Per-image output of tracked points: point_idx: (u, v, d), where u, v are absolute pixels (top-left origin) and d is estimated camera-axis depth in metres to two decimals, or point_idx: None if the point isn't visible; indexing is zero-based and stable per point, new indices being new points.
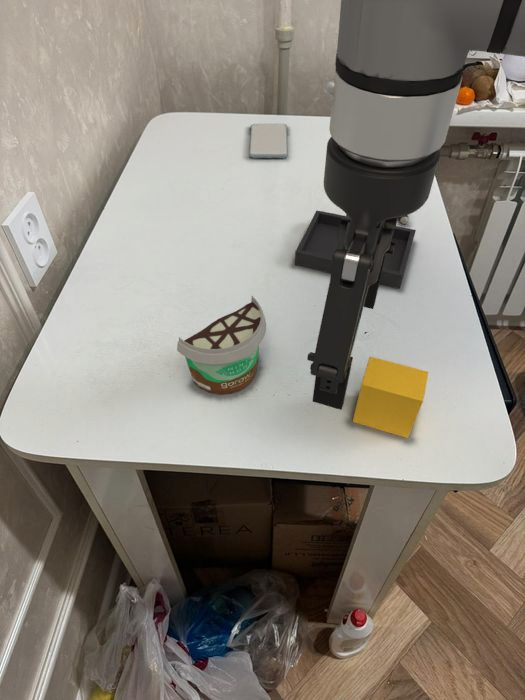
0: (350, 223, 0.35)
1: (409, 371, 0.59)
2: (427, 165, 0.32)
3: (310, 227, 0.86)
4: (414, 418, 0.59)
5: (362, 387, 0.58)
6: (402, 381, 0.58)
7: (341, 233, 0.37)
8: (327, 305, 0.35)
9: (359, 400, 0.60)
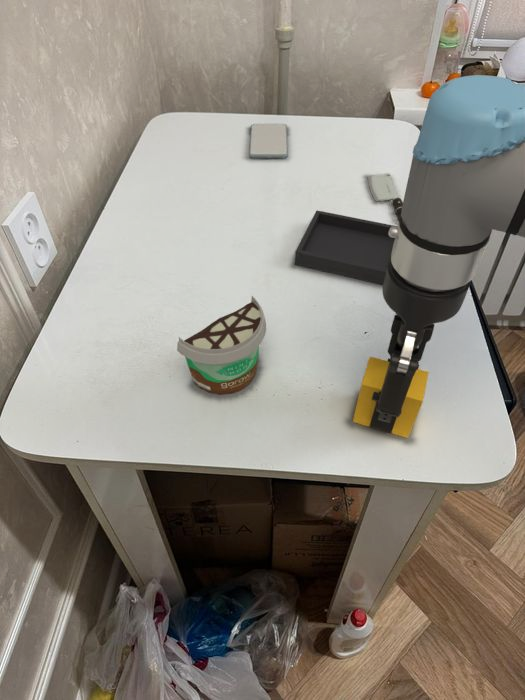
0: (404, 324, 0.47)
1: None
2: (463, 289, 0.44)
3: (310, 227, 0.86)
4: (414, 418, 0.59)
5: (362, 387, 0.58)
6: None
7: (394, 328, 0.50)
8: (386, 382, 0.50)
9: (359, 400, 0.60)
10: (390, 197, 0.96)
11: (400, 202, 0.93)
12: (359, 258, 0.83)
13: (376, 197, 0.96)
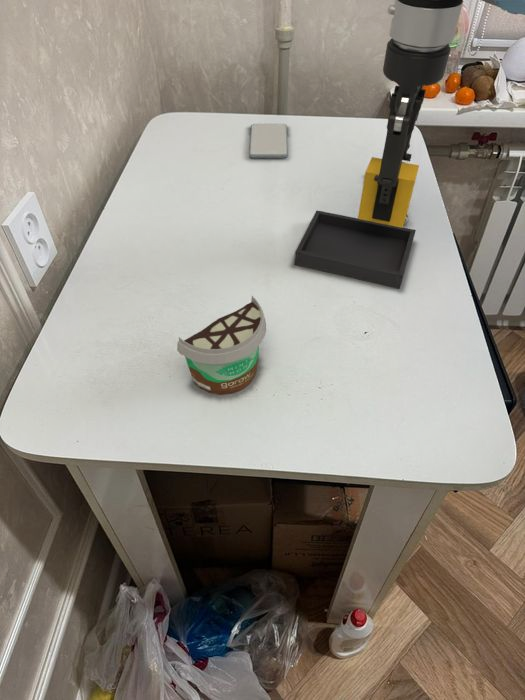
0: (399, 90, 0.61)
1: (403, 165, 0.73)
2: (443, 52, 0.58)
3: (310, 227, 0.86)
4: (407, 202, 0.73)
5: (366, 175, 0.72)
6: None
7: (391, 104, 0.64)
8: (386, 145, 0.64)
9: (363, 191, 0.74)
10: None
11: None
12: (359, 258, 0.83)
13: None
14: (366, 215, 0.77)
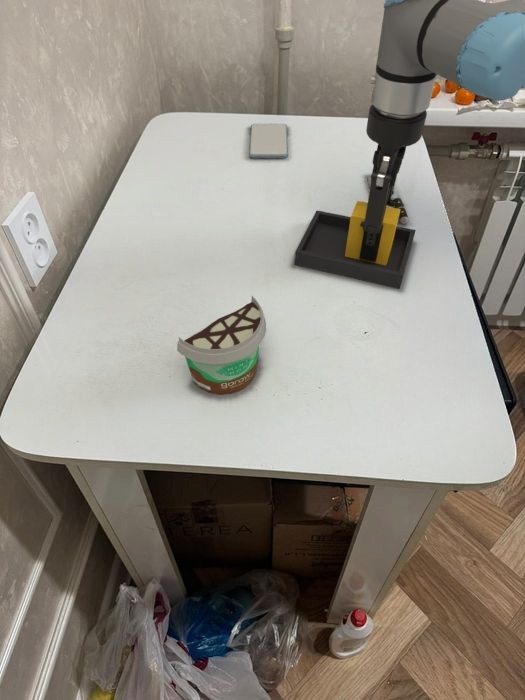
0: (381, 150, 0.67)
1: (386, 208, 0.79)
2: (420, 118, 0.65)
3: (310, 227, 0.86)
4: (390, 243, 0.79)
5: (351, 219, 0.78)
6: None
7: (375, 160, 0.70)
8: (369, 198, 0.70)
9: (349, 232, 0.80)
10: None
11: (400, 202, 0.93)
12: None
13: None
14: (352, 253, 0.83)
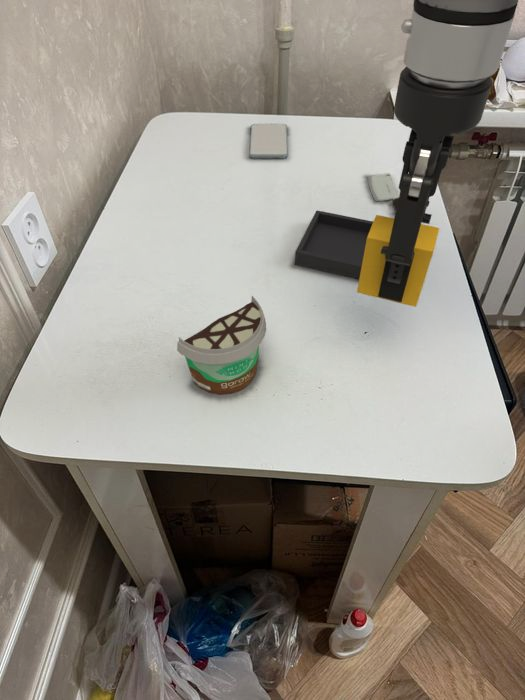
0: (417, 139, 0.43)
1: None
2: (483, 87, 0.40)
3: (310, 227, 0.86)
4: (423, 277, 0.54)
5: (368, 241, 0.54)
6: None
7: (406, 156, 0.46)
8: (397, 214, 0.46)
9: (364, 260, 0.56)
10: (390, 197, 0.96)
11: None
12: (359, 258, 0.83)
13: (376, 197, 0.96)
14: (368, 289, 0.58)
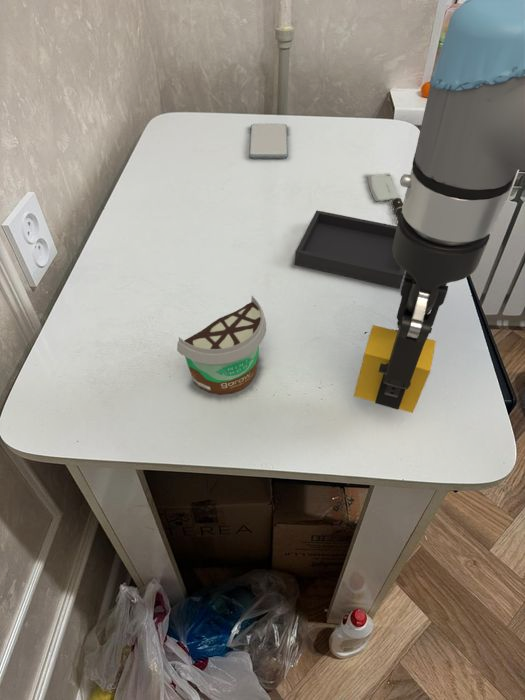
0: (416, 284, 0.43)
1: None
2: (481, 243, 0.40)
3: (310, 227, 0.86)
4: (420, 390, 0.55)
5: (365, 356, 0.54)
6: None
7: (404, 291, 0.46)
8: (395, 349, 0.46)
9: (361, 371, 0.56)
10: (390, 197, 0.96)
11: (400, 202, 0.93)
12: (359, 258, 0.83)
13: (376, 197, 0.96)
14: (365, 394, 0.59)
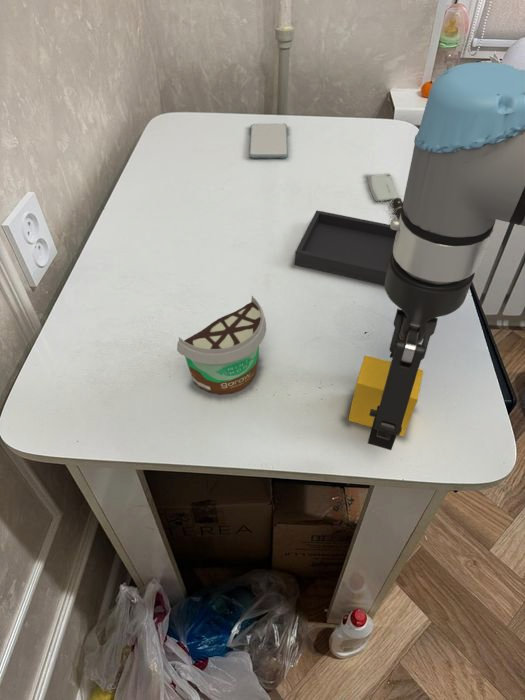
0: (406, 318, 0.46)
1: None
2: (466, 281, 0.43)
3: (310, 227, 0.86)
4: (409, 416, 0.59)
5: (357, 386, 0.58)
6: None
7: (397, 321, 0.49)
8: (389, 379, 0.47)
9: (354, 399, 0.60)
10: (390, 197, 0.96)
11: (400, 202, 0.93)
12: (359, 258, 0.83)
13: (376, 197, 0.96)
14: (358, 419, 0.63)
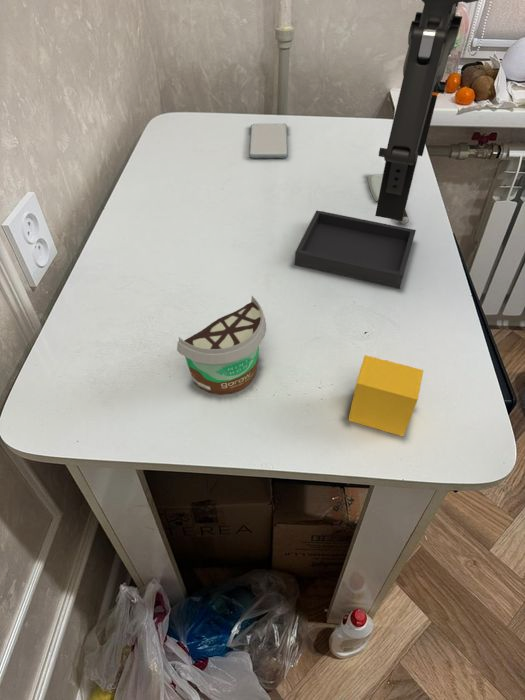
0: (425, 10, 0.40)
1: (404, 369, 0.59)
2: None
3: (310, 227, 0.86)
4: (409, 416, 0.59)
5: (357, 386, 0.58)
6: (397, 379, 0.58)
7: None
8: (403, 85, 0.40)
9: (354, 399, 0.60)
10: None
11: None
12: (359, 258, 0.83)
13: (376, 197, 0.96)
14: (358, 419, 0.63)
